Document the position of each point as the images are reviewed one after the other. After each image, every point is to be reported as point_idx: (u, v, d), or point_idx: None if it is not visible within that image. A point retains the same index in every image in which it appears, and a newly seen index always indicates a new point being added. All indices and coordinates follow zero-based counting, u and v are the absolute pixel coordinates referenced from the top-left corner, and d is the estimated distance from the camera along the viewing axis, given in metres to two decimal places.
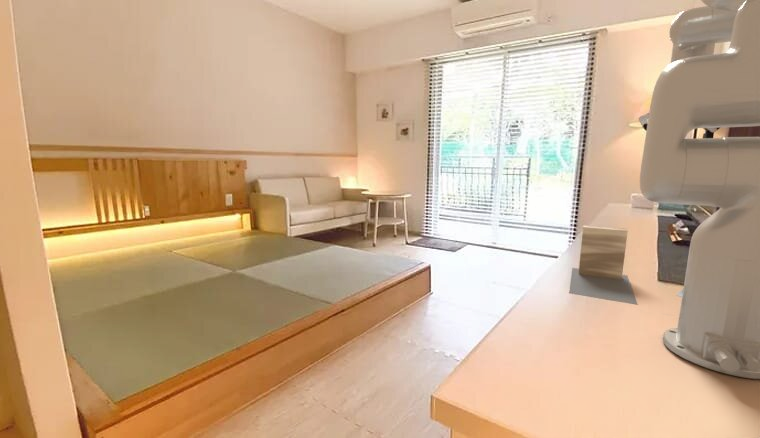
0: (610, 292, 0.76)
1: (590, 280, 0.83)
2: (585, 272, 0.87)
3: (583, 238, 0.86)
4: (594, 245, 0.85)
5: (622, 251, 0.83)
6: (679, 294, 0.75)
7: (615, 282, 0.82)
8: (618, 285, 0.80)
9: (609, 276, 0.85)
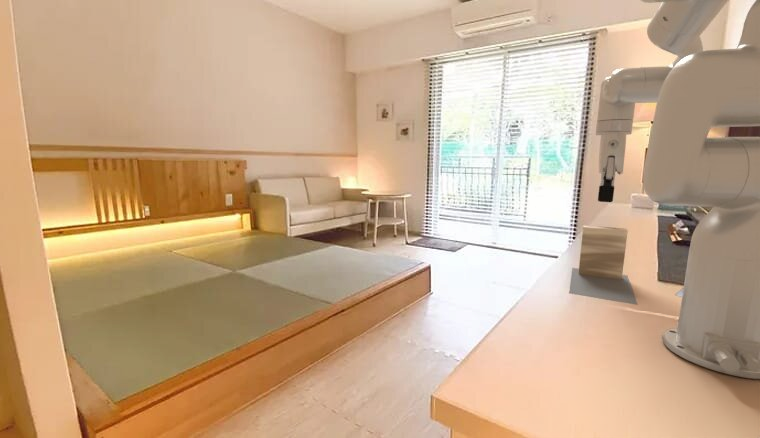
0: (610, 292, 0.76)
1: (590, 280, 0.83)
2: (585, 272, 0.87)
3: (583, 238, 0.86)
4: (594, 245, 0.85)
5: (622, 251, 0.83)
6: (679, 294, 0.75)
7: (615, 282, 0.82)
8: (618, 285, 0.80)
9: (609, 276, 0.85)
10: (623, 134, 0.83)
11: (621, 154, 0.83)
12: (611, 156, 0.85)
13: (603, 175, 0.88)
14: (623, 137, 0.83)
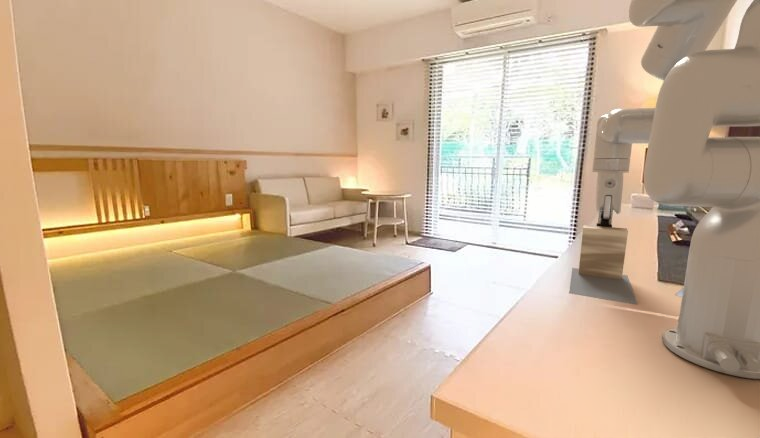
0: (610, 292, 0.76)
1: (590, 280, 0.83)
2: (585, 272, 0.87)
3: (583, 238, 0.86)
4: (594, 246, 0.85)
5: (622, 251, 0.82)
6: (679, 294, 0.75)
7: (615, 282, 0.82)
8: (618, 285, 0.80)
9: (609, 276, 0.85)
10: (620, 173, 0.81)
11: (618, 194, 0.82)
12: (608, 195, 0.83)
13: (600, 213, 0.86)
14: (620, 176, 0.81)
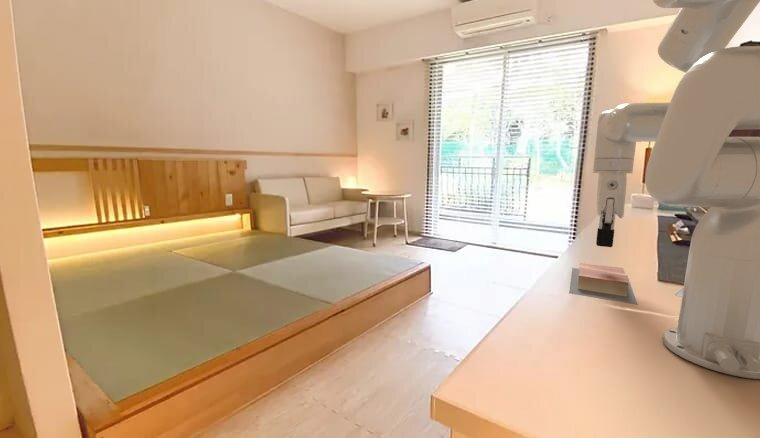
0: None
1: None
2: None
3: None
4: None
5: None
6: (679, 294, 0.75)
7: None
8: None
9: None
10: (623, 174, 0.75)
11: (621, 196, 0.75)
12: (610, 198, 0.77)
13: (602, 218, 0.80)
14: (623, 178, 0.75)
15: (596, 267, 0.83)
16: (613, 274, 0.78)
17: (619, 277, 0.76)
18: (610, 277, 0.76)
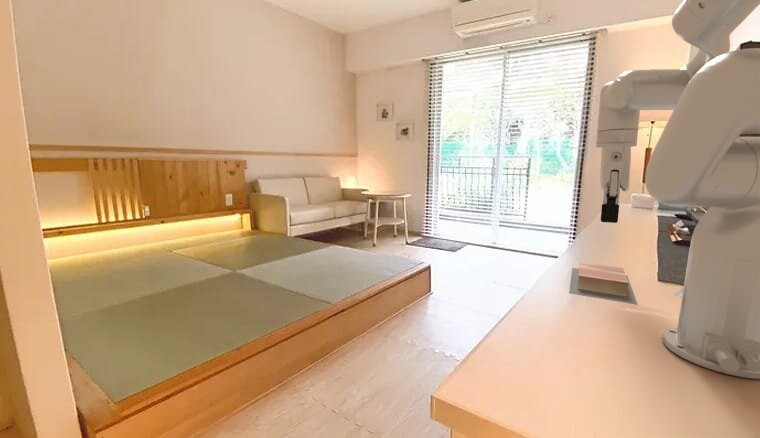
0: None
1: None
2: None
3: None
4: None
5: None
6: (679, 294, 0.75)
7: None
8: None
9: None
10: (627, 145, 0.73)
11: (626, 168, 0.73)
12: (614, 170, 0.75)
13: (606, 192, 0.78)
14: (628, 149, 0.73)
15: (596, 267, 0.83)
16: (613, 274, 0.78)
17: (619, 277, 0.76)
18: (610, 277, 0.76)
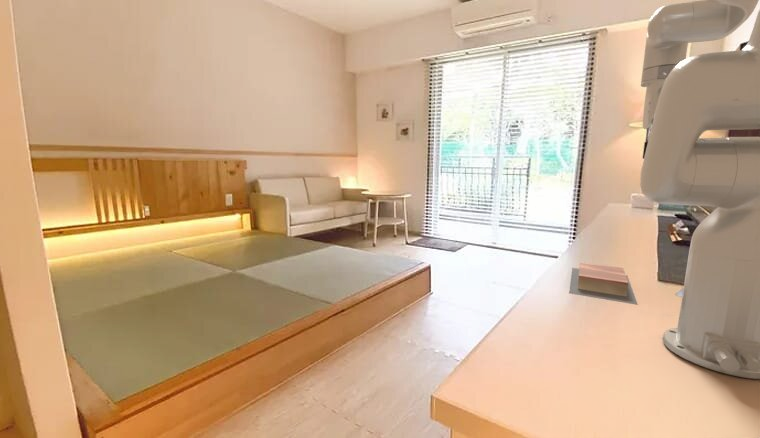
0: None
1: None
2: None
3: None
4: None
5: None
6: (679, 294, 0.75)
7: None
8: None
9: None
10: None
11: None
12: None
13: (650, 128, 0.80)
14: None
15: (596, 267, 0.83)
16: (613, 274, 0.78)
17: (619, 277, 0.76)
18: (610, 277, 0.76)
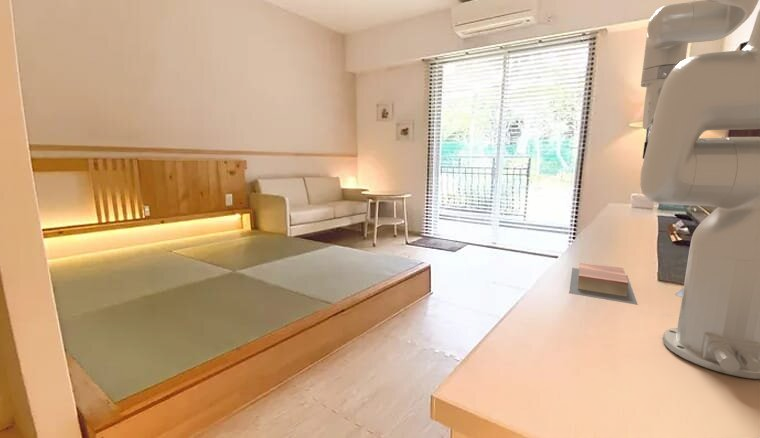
0: None
1: None
2: None
3: None
4: None
5: None
6: (679, 294, 0.75)
7: None
8: None
9: None
10: None
11: None
12: None
13: (650, 129, 0.80)
14: None
15: (596, 267, 0.83)
16: (613, 274, 0.78)
17: (619, 277, 0.76)
18: (610, 277, 0.76)
